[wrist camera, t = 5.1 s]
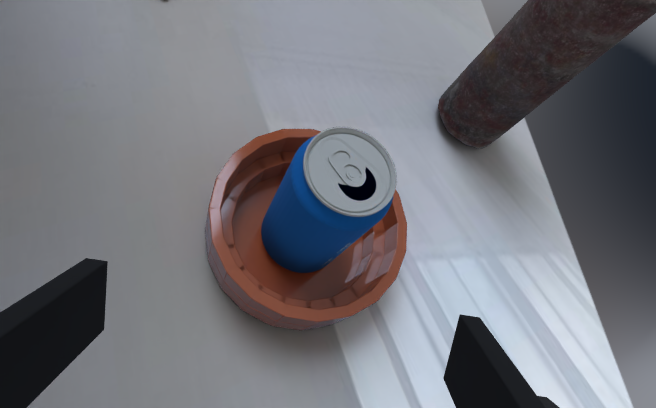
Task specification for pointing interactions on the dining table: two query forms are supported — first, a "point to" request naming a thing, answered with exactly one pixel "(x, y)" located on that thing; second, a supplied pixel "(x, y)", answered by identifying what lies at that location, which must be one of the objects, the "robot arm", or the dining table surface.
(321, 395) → the dining table surface
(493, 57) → the stone cylinder
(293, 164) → the beverage can
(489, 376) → the robot arm
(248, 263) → the bowl
